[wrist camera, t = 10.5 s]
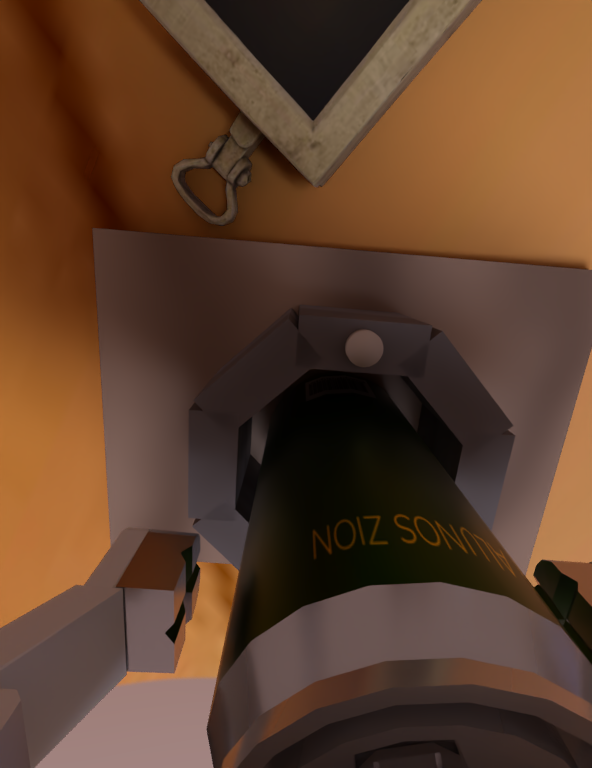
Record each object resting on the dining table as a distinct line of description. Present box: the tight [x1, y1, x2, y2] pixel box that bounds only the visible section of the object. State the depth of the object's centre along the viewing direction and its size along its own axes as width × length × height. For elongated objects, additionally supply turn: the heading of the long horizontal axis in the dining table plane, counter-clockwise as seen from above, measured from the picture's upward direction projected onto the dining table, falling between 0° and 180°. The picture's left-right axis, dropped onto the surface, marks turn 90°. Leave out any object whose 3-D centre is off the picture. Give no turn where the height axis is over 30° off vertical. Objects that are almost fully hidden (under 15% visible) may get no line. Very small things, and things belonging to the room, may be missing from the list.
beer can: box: [207, 373, 592, 768], centre depth 10 cm, size 5×5×12 cm
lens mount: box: [92, 228, 592, 575], centre depth 14 cm, size 19×14×6 cm
